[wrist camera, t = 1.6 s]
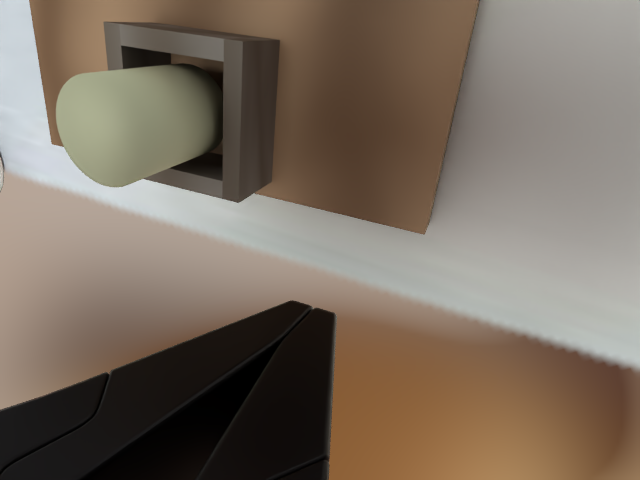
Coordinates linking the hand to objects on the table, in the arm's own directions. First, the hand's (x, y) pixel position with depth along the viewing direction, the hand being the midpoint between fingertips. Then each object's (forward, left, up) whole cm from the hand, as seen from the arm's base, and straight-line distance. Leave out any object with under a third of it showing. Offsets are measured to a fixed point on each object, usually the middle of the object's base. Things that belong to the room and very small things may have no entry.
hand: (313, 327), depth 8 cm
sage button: (+9, -1, -9) cm, 13 cm away
